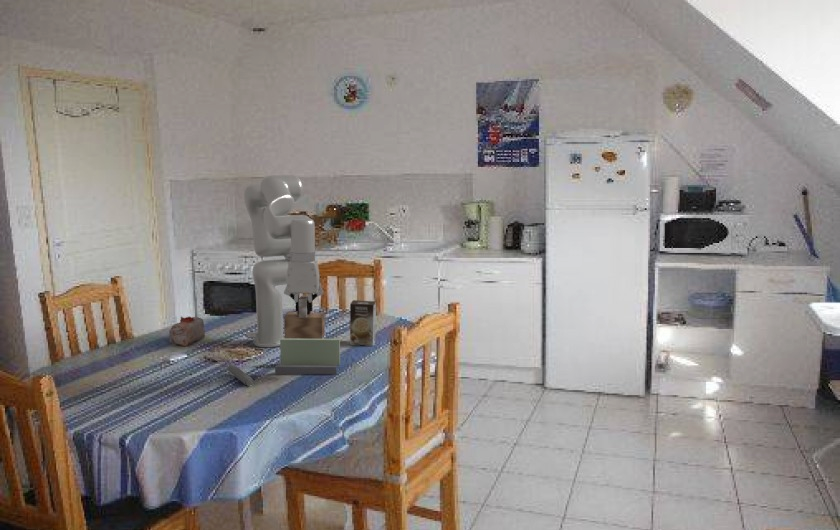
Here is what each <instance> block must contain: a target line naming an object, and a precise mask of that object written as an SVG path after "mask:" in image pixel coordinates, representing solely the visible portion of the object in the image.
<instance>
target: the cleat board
mask: <svg viewBox="0 0 840 530" xmlns="http://www.w3.org/2000/svg"><path fill="white" fill-rule="evenodd" d="M279 347H280V350H279V352H280V353H279V354H280V364H278V365H275V366H274V371H275V372H274V373H275V375H337V374H338V366H341V341H340V338H322V339H302V338H287V339H286V338H281V339H280V346H279Z"/></svg>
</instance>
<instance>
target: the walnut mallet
mask: <svg viewBox="0 0 840 530" xmlns="http://www.w3.org/2000/svg"><path fill="white" fill-rule="evenodd" d="M307 302H308V295H300V298H299V314H297V312H290V311H289V312H286V314H285V315H284V316H283V335H284V337H285V338H287V339H324V335H325V329H326V328H325V327H326V325H325V312H311V313H310V314H309V315H308V314H307Z"/></svg>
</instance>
